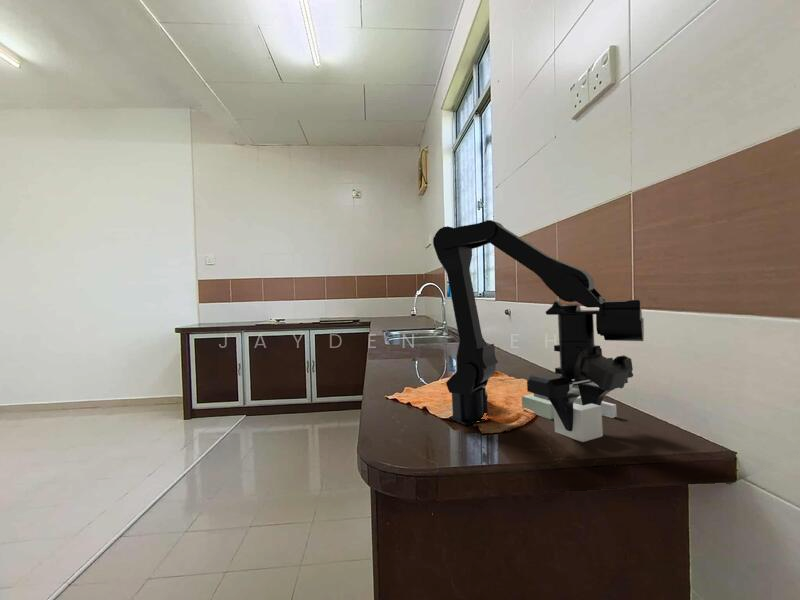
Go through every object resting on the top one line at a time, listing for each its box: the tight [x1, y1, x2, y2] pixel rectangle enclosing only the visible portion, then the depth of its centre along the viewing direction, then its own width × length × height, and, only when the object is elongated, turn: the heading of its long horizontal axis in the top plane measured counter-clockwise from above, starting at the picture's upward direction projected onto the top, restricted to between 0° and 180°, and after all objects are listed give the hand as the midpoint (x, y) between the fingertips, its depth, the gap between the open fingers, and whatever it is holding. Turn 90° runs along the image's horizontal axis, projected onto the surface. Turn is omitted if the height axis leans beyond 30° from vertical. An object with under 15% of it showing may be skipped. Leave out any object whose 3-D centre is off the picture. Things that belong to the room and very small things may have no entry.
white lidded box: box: [553, 403, 604, 443], centre depth 72 cm, size 5×6×5 cm
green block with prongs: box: [521, 387, 617, 420], centre depth 85 cm, size 14×14×6 cm
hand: (580, 427), depth 72 cm, fingers closed on white lidded box, 5 cm apart
